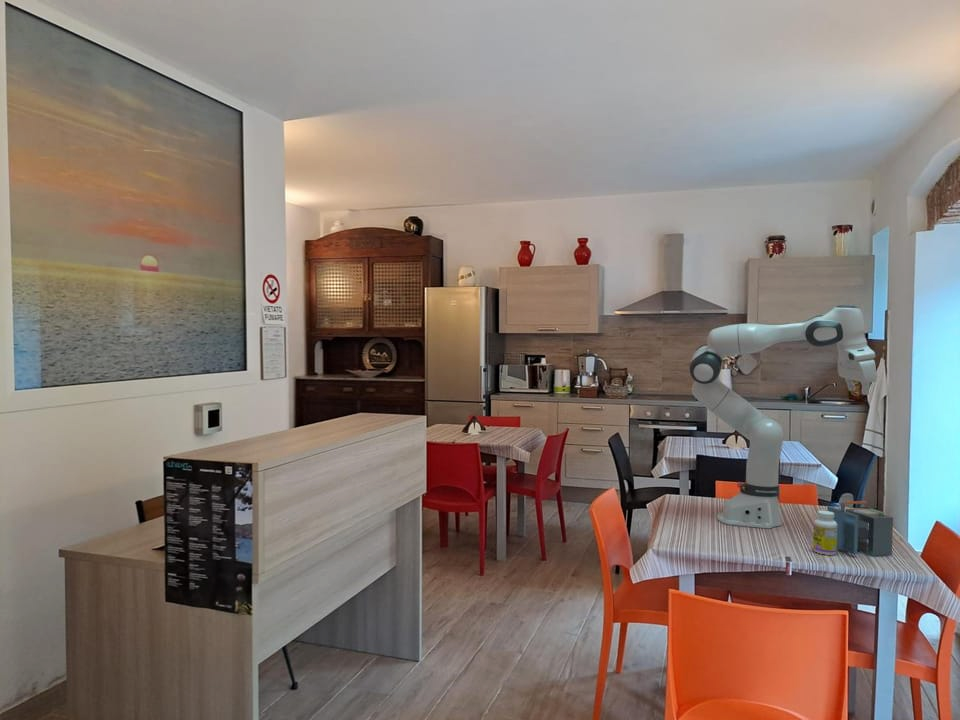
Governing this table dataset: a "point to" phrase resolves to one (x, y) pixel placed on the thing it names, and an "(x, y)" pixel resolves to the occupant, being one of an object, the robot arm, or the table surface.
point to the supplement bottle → (825, 533)
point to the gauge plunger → (848, 528)
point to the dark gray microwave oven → (875, 531)
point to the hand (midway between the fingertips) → (858, 392)
